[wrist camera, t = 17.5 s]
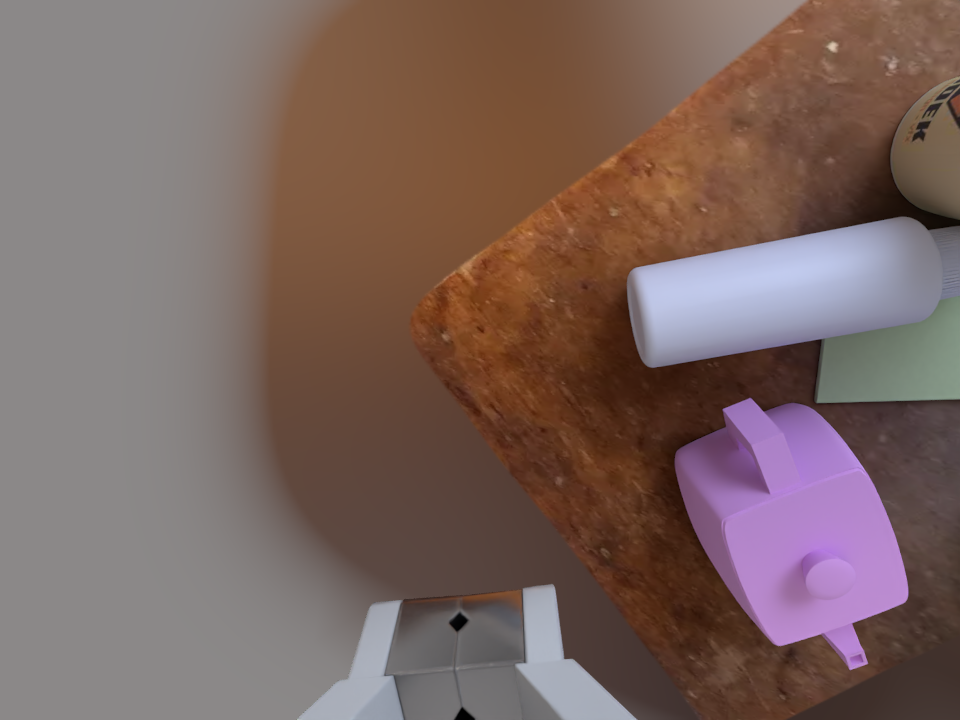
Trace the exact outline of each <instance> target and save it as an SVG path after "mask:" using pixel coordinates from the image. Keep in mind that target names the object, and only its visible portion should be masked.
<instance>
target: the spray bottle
mask: <svg viewBox="0 0 960 720" xmlns="http://www.w3.org/2000/svg"><path fill="white" fill-rule="evenodd" d="M956 296H960V226H954V227H947V228H940V229H933V230H927V229H926V228H925V226H923V225H922V224H921V223H920V222H918V221H917V220H915V219H913V218H909V217H897V218H892V219H886V220H881V221H876V222H871V223H866V224H860V225H855V226H850V227H845V228H840V229H834V230H829V231H824V232H819V233H813V234H808V235H803V236H798V237H793V238H787V239H782V240H777V241H772V242H767V243H761V244H756V245H751V246H746V247H741V248H735V249H730V250H725V251H720V252H715V253H709V254H704V255H699V256H694V257H689V258H683V259H678V260H673V261H668V262H663V263H657V264H652V265H647V266H642V267H637V268H634V269H633V270H632V271H631V272H630V273H629V275H628V279H627V297H628V306H629V313H630V319H631V325H632V330H633V334H634V339H635V343H636V346H637V350H638V353H639V355H640V358H641V360H642V361H643V363H644V364H645V365H646V366H648V367H651V368H655V367H661V366H667V365H673V364H679V363H685V362H690V361H696V360H702V359H708V358H714V357H719V356H725V355H731V354H737V353H743V352H749V351H754V350H760V349H766V348H772V347H778V346H783V345H789V344H795V343H801V342H807V341H813V340H818V339H824V338H830V337H836V336H842V335H847V334H853V333H859V332H865V331H871V330H877V329H882V328H888V327H894V326H900V325H906V324H911V323H917V322H921V321H923V320H925V319H926V318H928V317H929V316H930V315H931V314H932V313H933V312H934V310H935V309H936V307H937V305H938V303H939V300H942V299H947V298H951V297H956Z"/></svg>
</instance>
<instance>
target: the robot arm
mask: <svg viewBox="0 0 960 720" xmlns="http://www.w3.org/2000/svg"><path fill="white" fill-rule="evenodd" d="M297 720H637V719H636V718H635V717H634V716H633V715H632V714H630V713H629V712H628V711H627V710H626V709H625V708H624V707H623V706H622V705H621V704H620V703H619V702H618V701H617V700H616V699H615V698H614V697H613V696H612V695H610V693H608V692H607V691H606V690H605V689H604V688H603V687H602V686H601V685H600V684H599V683H598V682H597V681H596V680H595V679H594V678H593V677H592V676H591V675H590V674H589V673H587V672H586V671H585V670H584V669H583V668H582V667H581V666H580V665H579V664H578V663H577V662H576V661H575V660H574V659H566V660H564V653H563V645H562V637H561V631H560V622H559V615H558V607H557V600H556V592H555V587H554V586H553V584H550V585H543V586H534V587H528V588H523V589H519V590H510V591H500V592H491V593H481V594H472V595H457V596H444V597H432V598H418V599H405V600H403V601H402V600H397V601H385V602H374V603H373V604H372V605H371V606H370V608H369V609H368V613H367V616H366V620H365V623H364V626H363V629H362V633H361V636H360V639H359V643H358V646H357V649H356V653H355V656H354V659H353V662H352V666H351V669H350V672H349V676H348V679H347V680H338V681H337V682H336V683H335V684H334V685H333V686H332V687H331V688H330V689H329V690H328V691H326V692H325V693H324V694H323V695H322V696H321V697H320V698H319V699H318V700H317V701H316V702H315V703H314V704H313V705H311V706H310V707H309V708H308V709H307V710H306V711H305V712H304V713H303V714H302V715H301V716H300V717H299V718H298V719H297Z"/></svg>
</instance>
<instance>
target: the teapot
mask: <svg viewBox="0 0 960 720" xmlns="http://www.w3.org/2000/svg"><path fill="white" fill-rule="evenodd" d="M722 410H723V414H724V419H725V423H726V427H724V428H722V429H720V430H717V431H715V432H713V433H711V434H708V435H706V436H704V437H702V438H699V439H697V440H695V441H693V442H691V443H689V444H687V445H685V446H683V447H681V448H680V449H678V450H677V452H676V454H675V470H676V475H677V479H678V484H679V487H680V490H681V494H682V497H683V500H684V503H685V507H686V510H687V512H688V515H689V518H690V521H691V523H692V525H693V528H694V530H695V532H696V534H697V536H698V538H699V541H700V542H701V544H702V546H703V548H704V550H705V552H706V553H707V555H708V557H709V559H710V560H711V562H712V564H713V565H714V567H715V568H716V570H717V572H718V573H719V575H720V576H721V578H722V579H723V581H724V583H725V584H726V586H727V587H728V589H729V590H730V592H731V593H732V594H733V596H734V597H735V599H736V600H737V602H738V603H739V604H740V606H741V607H742V608H743V610H744V611H745V612H746V613H747V614H748V616H749V617H750V618H751V619H752V620H753V622H754V623H755V624H756V625H757V626H758V627H759V629H760V630H761V631H762V632H763V633H764V634H765V636H766V637H767V638H768V639H769V640H770V641H771V642H772V643H773V644H775V645H777V646H782V645H786V644H789V643H793V642H796V641H800V640H803V639H806V638H809V637H813V636H816V635H819V634H822V636H823V637H824V638H825V639H826V640H827V642H828V643H829V644H830V645H831V646H832V648H833V649H834V650H835V651H836V652H837V654H838V655H839V656H840V657H841V658H842V660H843V661H844V662H845V663H846V665H847V666H848V667H849V669H850V670H852V669H854V668H857V667H860V666H863V665H866V664H868V662H867V659H866V656H865V653H864V650H863V649H862V647H861V645H860V643H859V640H858V638H857V635H856V633H855V630H854V628H853V625H852V623H854V622H856V621H859V620H862V619H865V618H868V617H870V616H873V615H876V614H878V613H881V612H883V611H886V610H888V609H891V608H893V607H896V606H898V605H900V604H903V603H905V602H906V600H907V598H908V584H907V578H906V574H905V570H904V566H903V562H902V558H901V554H900V551H899V548H898V544H897V541H896V538H895V534H894V532H893V529H892V526H891V524H890V521H889V519H888V516H887V514H886V511H885V509H884V506H883V504H882V502H881V499H880V497H879V495H878V493H877V491H876V489H875V487H874V485H873V483H872V481H871V479H870V477H869V476H868V474H867V473H866V471H865V469H864V468H863V467H862V465H861V464H860V462H859V461H858V459H857V458H856V457H855V455H854V454H853V452H852V451H851V450H850V448H849V447H848V446H847V444H846V443H845V442H844V440H843V439H842V438H841V437H840V435H839V434H838V433H837V432H836V431H835V430H834V428H833V427H832V426H831V425H830V424H829V423H828V422H827V421H826V420H825V419H824V418H823V417H822V416H821V415H820V414H818V413H817V412H816V411H815V410H813V409H811V408H810V407H808V406H805V405H801V404H797V403H788V404H784V405H781V406H778V407H775V408H772V409H770V410H767V411H764V412H763V411H762V409H761V408H760V407H759V406H758V405H757V404H756V403H755V402H754V401H753V400H752V399H751V398H749V399H747V400H744V401H742V402H739V403H737V404H734V405H732V406H729V407H727V408H724V409H722Z"/></svg>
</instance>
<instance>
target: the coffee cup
mask: <svg viewBox="0 0 960 720" xmlns="http://www.w3.org/2000/svg"><path fill="white" fill-rule="evenodd" d="M890 163H891V171H892V175H893V178H894V182H895V184H896V186H897V188H898V189H899V191H900V192H901V194H902V195H903V196H904V197H905V198H906V199H907V200H908V201H909V202H911V203H912V204H913V205H915V206H916V207H918V208H920V209H922V210H925V211H928V212H931V213H934V214H938V215H941V216H945V217H949V218H953V219H957V220H960V76H959V77H956V78H953V79H950V80H948V81H945V82H943V83H941V84H939V85H938V86H936V87H934V88H933V89H931V90H930V91H928V92H927V93H926V94H924V95H923V96H922V97H921V98H920V99H919V100H918V101H917V102H916V103H915V104H914V105H913V106H912V107H911V108H910V109H909V111H908V112H907V113H906V115H905V116H904V118H903V119H902V121H901V123H900V124H899V126H898V129H897V131H896V133H895V136H894V139H893V143H892V148H891V156H890Z"/></svg>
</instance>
